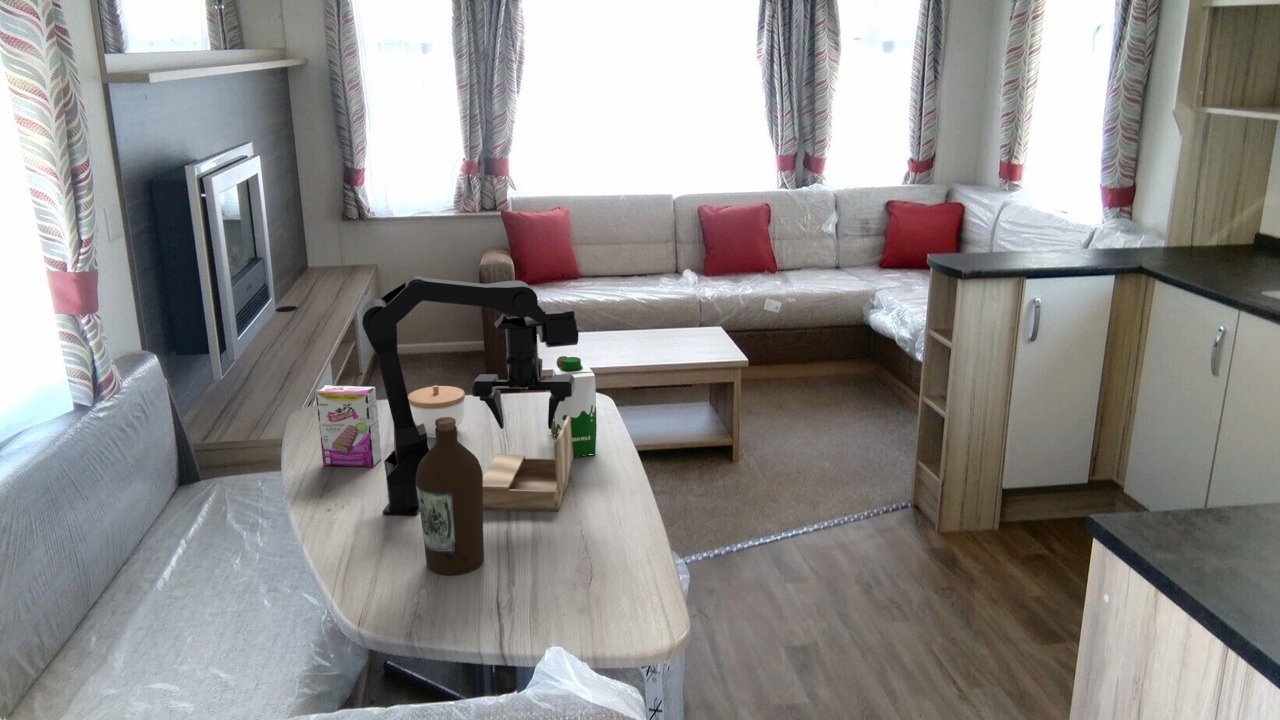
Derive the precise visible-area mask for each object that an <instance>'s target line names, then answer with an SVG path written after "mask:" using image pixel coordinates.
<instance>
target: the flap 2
mask: <svg viewBox="0 0 1280 720" xmlns="http://www.w3.org/2000/svg"><path fill="white" fill-rule="evenodd" d="M553 449H554V450H553V453H554V458H555V467H556V480H557V491H561V489H562V486H563V484H564V481H565V478H566V476H567V473H568V471H569V468H570V466H571V465H572V462H573V460H574V458H573V447H572V433H571V419H570V416H567V418H566V420H565V422H564V424H563V427H562V429H561V431H560V433H559V435H558V438H557V440H556V439H555V442H554V444H553ZM571 467H572V466H571Z"/></svg>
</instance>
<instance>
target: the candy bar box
mask: <svg viewBox="0 0 1280 720" xmlns="http://www.w3.org/2000/svg"><path fill="white" fill-rule="evenodd" d="M376 390H377V389H376V386H357V385H356V386H354V385H334V384H333V385H332V384H331V385H327V384H326V385H323V386H322V387H321V388H319V389H317V390H316V391H315V398H316V407H317V409H316V410H317V418H318V425H319V427H318V428H319V436H320V445H321V447H320V448H321V453H322V455H321V456H322V465H323V466H334V467H335V466H336V467H358V468H359V467H360V468H361V467H364V468H375V466H377V464H378V463H379V462H380V461H381V460H382V459H383V457H382V448H381V436H380V425H379V424H380V423H379V415H378V414H379V413H378V400H377V391H376Z"/></svg>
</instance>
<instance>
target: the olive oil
mask: <svg viewBox="0 0 1280 720" xmlns="http://www.w3.org/2000/svg"><path fill="white" fill-rule="evenodd" d="M455 424H456V420H455V419H454V418H452V417H442V418H439V419H437V420H436V421H435V425H436V428H435V434H436V438H435V441H436V442H435V443H434V444H433V446H432V447H430V451H429V452H428V453H427V454H426V455H425V456H424V457H423V459H422V460H421V461H420V463H419V465H418V469H417V473H416V489H417V494H418V501H419V508H420V511H419V513H420V521H421V529H422V535H423V536H422V537H423V543H424V551H425V552H424V553H425V554H424V555H425V562H426V566H427V569H429V570H430V571H432V572H433V573H435V574H439V575H443V576H454V575H455V576H456V575H462V574H466V573H469V572H472V571H475V570H476V569H478V568H479V567H480V566H481V565H482V564H483V562H484V560H485V552H484V551H485V550H484V548H485V547H484V543H485V542H484V510H483V475H484V474H483V470H482V466H481V464H480V461H479V460H478V458H477V456H476V455H475V454H474V453H472V452H471V450H469V449H468V448H466V446H464V445H463V444H462V443H461V442H459V440H458V428H457V427H456V426H455Z"/></svg>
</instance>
